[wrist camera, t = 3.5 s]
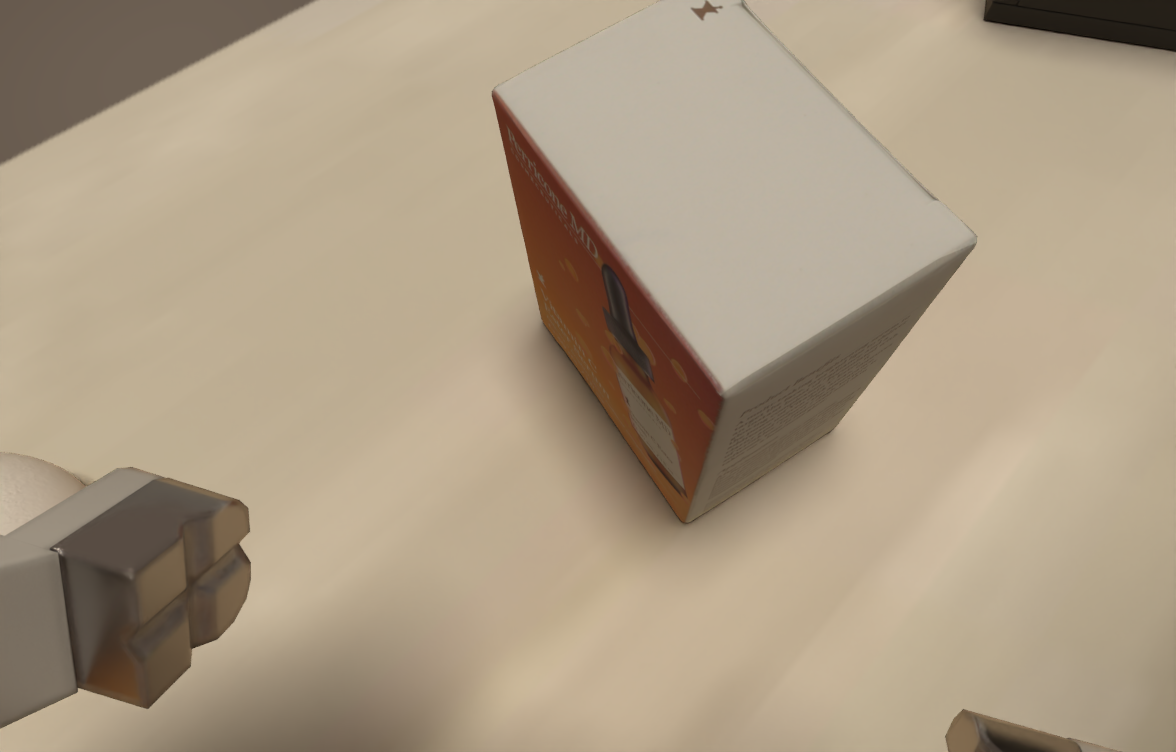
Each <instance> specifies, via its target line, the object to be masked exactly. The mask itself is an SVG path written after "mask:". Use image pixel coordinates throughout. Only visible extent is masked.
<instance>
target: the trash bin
mask: <svg viewBox="0 0 1176 752" xmlns="http://www.w3.org/2000/svg"><path fill="white" fill-rule="evenodd" d="M984 19H985V20H990V21H996V22H1002V23H1008V24H1015V25H1021V26H1027V27H1034V28H1040V29H1046V30H1052V31H1059V32H1065V33H1071V34H1078V35H1084V36H1090V37H1096V38H1103V39H1109V40H1115V41H1121V42H1128V43H1134V44H1140V45H1147V46H1153V47H1159V48H1165V49H1172V50H1176V0H987V3H986V10H985V17H984Z"/></svg>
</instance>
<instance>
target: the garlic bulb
mask: <svg viewBox="0 0 1176 752" xmlns="http://www.w3.org/2000/svg"><path fill="white" fill-rule="evenodd" d="M85 487H86V486H85V485H84V484H83V483H82V482H80V481H79V480H78V479H77V478H76V477H74V476H73V475H72V474H70V473H69V472H67V471H66V470H64V469H63V468H61V467H59V466H56V465H54V464H52V463H49V462H46V461H44V460H40V459H37V458H34V457H30V456H26V455H20V454H13V453H4V452H0V535H3V536H5V535H7V534H9V533H10V532H12V531H14V530H15V529H17V528H19V527H20V526H22V525H24V524H25V523H27V522H29V521H30V520H32V519H34V518H35V517H37V516H39V515H40V514H42V513H43V512H45V511H47V510H48V509H50V508H52V507H53V506H55V505H57V504H58V503H60V502H62V501H63V500H65V499H67V498H68V497H70V496H72V495H73V494H75V493H77V492H78V491H80V490H82V489H83V488H85Z"/></svg>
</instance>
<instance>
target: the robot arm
mask: <svg viewBox="0 0 1176 752" xmlns="http://www.w3.org/2000/svg"><path fill="white" fill-rule="evenodd" d="M249 532H250V525H249V511H248V507H247V506H245V505H244V504H243V503H242V502H241V501H240V500H237V499H234V498H231V497H228V496H225V495H222V494H218V493H215V492H212V491H209V490H206V489H202V488H199V487H196V486H193V485H190V484H187V483H183V482H180V481H177V480H174V479H171V478H164V477H162V476H159V475H156V474H153V473H149V472H146V471H143V470H140V469H137V468H133V467H128V468H117V469H115V470H113V471H112V472H110V473H108V474H107V475H105V476H103V477H102V478H100V479H98V480H97V481H95V482H93V483H92V484H90V485H88V486H87V487H85V488H83V489H82V490H80V491H78V492H77V493H75V494H73V495H72V496H70V497H68V498H67V499H65V500H63V501H62V502H60V503H58V504H57V505H55V506H53V507H52V508H50V509H48V510H47V511H45V512H43V513H42V514H40V515H39V516H37V517H35V518H34V519H32V520H30V521H29V522H27V523H25V524H24V525H22V526H20V527H19V528H17V529H15V530H14V531H12V532H10V533H9V534H7V535H5V536H3V535H0V728H2V727H5V726H7V725H9V724H11V723H13V722H15V721H17V720H19V719H22V718H24V717H26V716H28V715H30V714H32V713H34V712H37V711H39V710H41V709H43V708H45V707H47V706H49V705H51V704H54V703H56V702H58V701H60V700H62V699H64V698H66V697H69V696H71V695H73V694H75V693H77V692H78V688H80V689H84V690H87V691H90V692H93V693H97V694H100V695H103V696H107V697H110V698H113V699H116V700H120V701H123V702H126V703H129V704H133V705H136V706H139V707H143V708H146V709H149V708H150V707H151V706H152V705H153V704H154V703H155V702H156V701H157V700H158V699H159V698H160V697H161V696H162V695H163V694H164V693H165V692H166V691H167V690H168V689H169V688H170V687H171V686H172V685H173V684H174V683H175V682H176V681H177V680H178V679H179V678H180V677H181V676H182V675H183V674H184V673H185V672H186V671H187V670H188V669H189V668H190V667H191V656H192V649H193V648H196V647H198V646H201V645H204V644H206V643H209V642H212V641H214V640H217V639H218V638H219V637H220V636H221V635H222V634H223V633H224V632H225V631H226V630H227V629H228V628H229V627H230V625H231V624H232V623H233V622H234V621H235V619H236V617H237V615H238V613H239V612H240V610H241V608H242V606H243V604H244V602H245V600H246V598H247V594H248V590H249V585H250V581H251V562H250V561H249V559H248V557H247V556H246V554H245V553H244V551H243V549H242V548H241V546H240V545H239V543H240V542H241V541H242V539H243V538H244V537H245V536H246V535H247V534H248V533H249ZM945 738H946V743H947V747H948V752H1121V751H1118V750H1114V749H1110V748H1106V747H1102V746H1099V745H1095V744H1091V743H1087V742H1084V741H1080V740H1076V739H1072V738H1063V737H1060V736H1057V735H1053V734H1050V733H1046V732H1043V731H1039V730H1036V729H1032V728H1028V727H1025V726H1021V725H1018V724H1014V723H1011V722H1007V721H1004V720H1000V719H997V718H993V717H989V716H986V715H982V714H979V713H975V712H972V711H968V710H965V709H963V710H962V711H961V712H960V713H959V714H958V715H957V716H956V717H955V718H954V719H953V721H952V723H951V725H950V727H949V729H948V731H947V734H946V736H945Z"/></svg>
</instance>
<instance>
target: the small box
mask: <svg viewBox="0 0 1176 752" xmlns="http://www.w3.org/2000/svg"><path fill="white" fill-rule="evenodd" d="M492 98H493V102H494V106H495V110H496V115H497V119H498V124H499V128H500V133H501V137H502V141H503V146H504V150H505V155H506V160H507V164H508V169H509V174H510V178H511V183H512V187H513V192H514V197H515V201H516V206H517V210H518V215H519V220H520V224H521V229H522V233H523V237H524V242H525V246H526V250H527V255H528V261H529V265H530V270H531V274H532V278H533V283H534V288H535V293H536V297H537V301H538V305H539V310H540V314H541V319H542V321H543V322H544V324H545V326H546V327H547V328H548V330H549V331H550V332H551V334H552V335H553V336H554V338H555V339H556V341H557V342H558V343H559V344H560V346H561V347H562V348H563V350H564V351H565V352H566V354H567V355H568V356H569V358H570V359H571V361H572V362H573V363H574V365H575V366H576V368H577V369H578V370H579V372H580V373H581V375H582V376H583V377H584V379H585V380H586V382H587V383H588V385H589V386H590V387H591V389H592V390H593V392H594V393H595V395H596V396H597V398H598V399H599V401H600V402H601V404H602V405H603V407H604V408H605V410H606V411H607V413H608V414H609V416H610V417H611V419H612V420H613V422H614V423H615V425H616V426H617V428H618V429H619V431H620V432H621V434H622V435H623V437H624V438H625V440H626V441H627V443H628V444H629V446H630V447H631V449H632V450H633V451H634V453H635V454H636V456H637V457H638V459H639V460H640V462H641V463H642V464H643V466H644V467H645V469H646V470H647V472H648V473H649V475H650V476H651V478H652V479H653V480H654V482H655V483H656V485H657V486H658V488H659V489H660V491H661V492H662V494H663V495H664V497H665V498H666V500H667V501H668V503H669V504H670V506H671V507H672V509H673V510H674V512H675V513H676V515H677V516H678V517H679V519H680V520H681V521H682V522H683V523H689V522H691V521H692V520H694V519H696V518H697V517H699V516H701V515H702V514H704V513H705V512H707V511H709V510H710V509H712V508H713V507H715V506H717V505H718V504H720V503H721V502H723V501H724V500H726V499H728V498H729V497H731V496H732V495H734V494H735V493H737V492H738V491H740V490H742V489H743V488H745V487H746V486H748V485H749V484H751V483H752V482H754V481H755V480H757V479H758V478H760V477H761V476H763V475H764V474H766V473H767V472H769V471H771V470H772V469H774V468H775V467H777V466H778V465H780V464H781V463H783V462H784V461H786V460H787V459H789V458H790V457H792V456H794V455H795V454H797V453H798V452H800V451H801V450H803V449H804V448H806V447H807V446H809V445H810V444H812V443H813V442H815V441H816V440H818V439H819V438H821V437H822V436H823V435H825V434H826V433H828V432H829V431H831V430H833V429H834V428H835V427H836V426H837V425H838V424H839V422H840V421H841V420H842V418H843V417H844V416H845V414H846V413H847V412H848V411H849V409H850V408H851V407H852V406H853V404H854V403H855V401H856V400H857V399H858V398H859V396H860V395H861V394H862V393H863V391H864V390H865V389H866V388H867V386H868V385H869V383H870V382H871V381H872V380H873V379H874V377H875V376H876V375H877V373H878V372H879V371H880V370H881V368H882V367H883V366H884V365H885V363H886V362H887V360H888V359H889V358H890V357H891V355H892V354H893V353H894V351H895V350H896V349H897V347H898V346H899V345H900V343H901V342H902V341H903V339H904V338H905V337H906V336H907V334H908V333H909V332H910V330H911V329H912V327H913V326H914V325H915V324H916V322H917V321H918V320H919V318H920V317H921V316H922V315H923V313H924V312H925V311H926V309H927V308H928V307H929V305H930V304H931V303H932V301H933V300H934V299H935V298H936V296H937V295H938V294H939V292H940V291H941V290H942V289H943V287H944V286H945V285H946V283H947V282H948V281H949V279H950V278H951V277H952V275H953V274H954V273H955V272H956V270H957V269H958V268H959V267H960V265H961V264H962V263H963V261H964V260H965V259H966V257H967V256H968V255H969V254H970V252H971V251H972V250H973V249H974V247H975V245H976V243H977V236H976V234H975V233H974V232H973V231H972V230H971V229H970V228H969V227H968V226H967V225H966V224H965V223H963V222H962V221H961V220H960V219H959V218H958V217H957V216H956V215H955V214H954V213H953V212H952V211H951V210H950V209H949V208H948V207H947V206H946V205H945V204H943V203H942V202H941V201H939V200H938V199H937V198H936V197H935V196H934V195H933V194H932V193H930V192H929V191H928V190H927V189H926V188H925V187H924V186H923V185H922V184H921V183H920V182H919V181H918V180H917V179H916V178H915V177H914V176H913V175H912V174H911V173H910V172H909V171H908V170H907V169H906V168H905V167H904V166H903V165H902V164H901V163H900V162H899V161H898V160H897V159H896V158H895V157H894V156H893V155H892V154H891V153H890V152H889V151H888V150H887V149H886V148H885V147H884V146H883V145H882V144H881V143H880V142H879V141H878V140H877V139H876V138H875V137H874V136H873V135H872V134H871V133H870V132H869V131H868V130H867V129H866V128H865V127H864V126H863V125H862V124H861V123H860V122H859V121H858V120H857V119H856V118H855V117H854V116H853V115H852V114H851V113H850V112H849V111H848V110H847V109H846V108H845V107H844V106H843V105H842V104H841V103H840V102H839V101H838V100H837V99H836V98H835V96H834V95H833V94H832V93H831V92H830V91H829V90H827V89H826V88H825V87H824V86H823V85H822V84H821V83H820V82H819V81H818V80H817V78H816V77H815V76H814V75H813V74H812V73H811V72H810V71H809V70H808V69H807V68H806V67H805V66H804V65H803V64H802V63H801V62H800V61H799V60H798V59H797V58H796V57H795V56H794V55H793V54H792V53H791V52H790V50H789V49H788V48H787V47H786V46H785V45H784V44H783V43H782V42H781V41H780V40H779V39H778V38H777V37H776V36H775V35H774V34H773V33H772V32H771V31H770V30H769V29H768V28H767V26H766V25H765V24H764V23H763V22H762V21H761V20H760V19H759V18H758V17H757V16H756V15H755V13H754V12H753V11H752V10H751V9H750V8H749V7H748V5H747V4H746V3H745V1H744V0H660V1H658V2H656V3H654V4H652V5H650V6H648V7H646V8H644V9H642V10H640V11H638V12H636V13H635V14H633V15H631V16H629V17H627V18H625V19H623V20H621V21H619V22H617V23H615V24H614V25H612V26H610V27H608V28H606V29H604V30H602V31H600V32H598V33H596V34H594V35H592V36H590V37H589V38H587V39H585V40H583V41H581V42H579V43H577V44H575V45H573V46H571V47H569V48H567V49H565V50H563V51H561V52H559V53H557V54H555V55H553V56H552V57H550V58H548V59H546V60H544V61H542V62H540V63H538V64H537V65H535V66H533V67H531V68H529V69H527V70H525V71H523V72H521V73H520V74H518V75H516V76H515V77H513V78H511V79H509V80H507V81H505V82H503V83H501V84H499V85H497V86H496V87H495V88H494V89H493V91H492Z"/></svg>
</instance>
